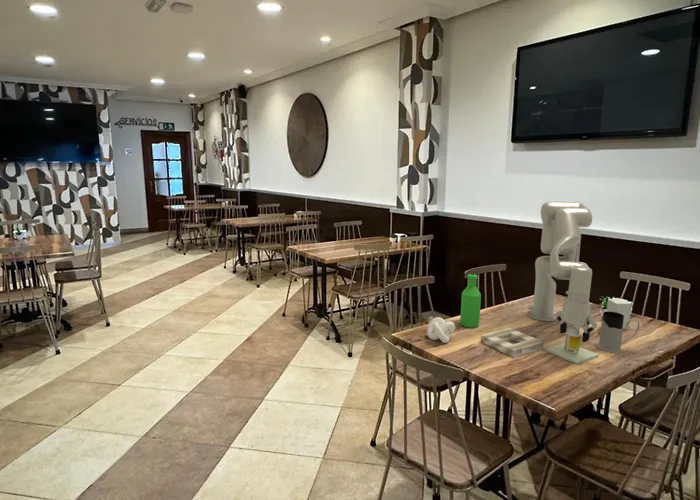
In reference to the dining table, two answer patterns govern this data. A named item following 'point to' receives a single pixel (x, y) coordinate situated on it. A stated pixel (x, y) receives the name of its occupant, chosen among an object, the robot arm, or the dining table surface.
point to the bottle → (470, 303)
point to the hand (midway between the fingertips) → (573, 337)
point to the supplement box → (620, 309)
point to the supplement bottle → (572, 340)
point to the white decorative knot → (440, 329)
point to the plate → (572, 354)
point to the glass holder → (612, 332)
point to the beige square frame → (499, 342)
